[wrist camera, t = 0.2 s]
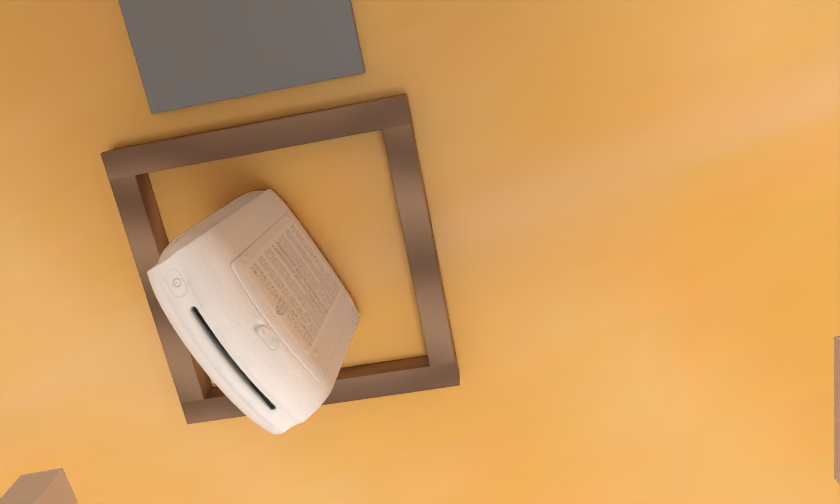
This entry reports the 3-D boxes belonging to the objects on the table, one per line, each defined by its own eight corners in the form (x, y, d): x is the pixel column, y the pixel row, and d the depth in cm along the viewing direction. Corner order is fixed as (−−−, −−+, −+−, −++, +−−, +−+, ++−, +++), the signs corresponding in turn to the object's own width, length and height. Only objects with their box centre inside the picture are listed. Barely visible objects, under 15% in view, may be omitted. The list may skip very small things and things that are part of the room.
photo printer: (212, 212, 39) (106, 284, 27) (270, 173, 38) (187, 230, 26) (314, 350, 41) (257, 472, 30) (371, 316, 41) (336, 427, 29)
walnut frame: (113, 149, 38) (100, 153, 37) (406, 93, 37) (404, 95, 35) (196, 411, 43) (187, 424, 42) (459, 373, 41) (459, 385, 40)
